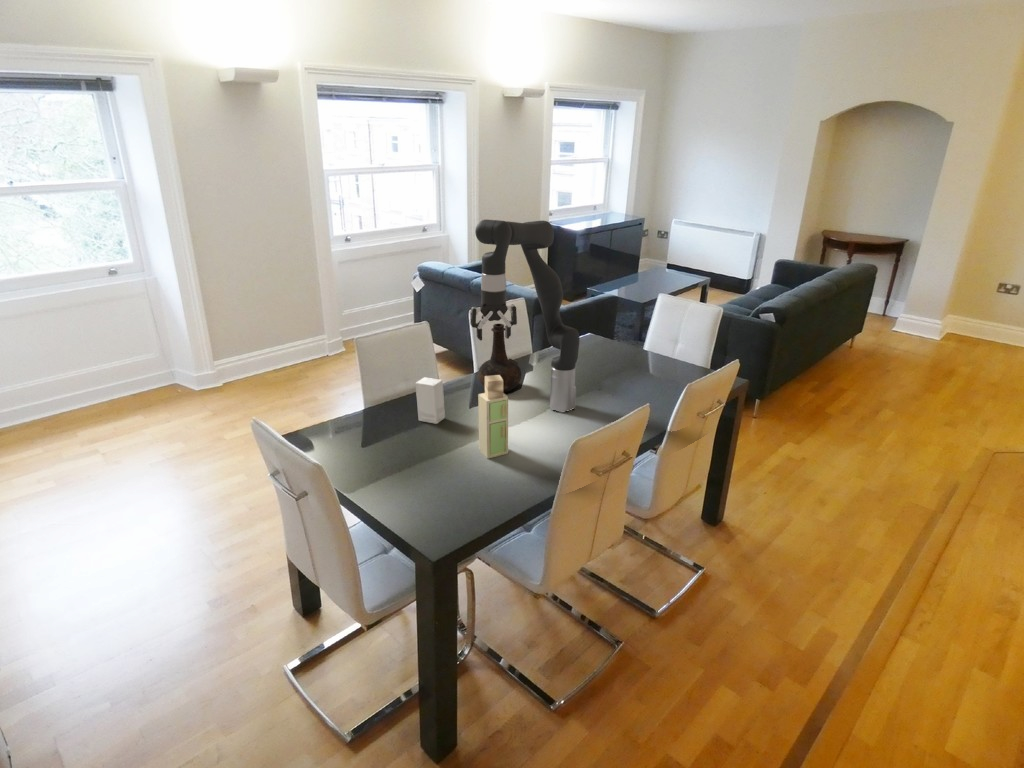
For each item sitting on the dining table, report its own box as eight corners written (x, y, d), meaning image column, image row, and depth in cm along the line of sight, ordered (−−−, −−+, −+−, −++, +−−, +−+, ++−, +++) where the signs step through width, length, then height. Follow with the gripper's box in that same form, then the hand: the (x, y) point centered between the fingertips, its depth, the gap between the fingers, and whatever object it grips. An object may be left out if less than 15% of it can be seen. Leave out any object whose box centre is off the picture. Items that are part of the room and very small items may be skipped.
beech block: (499, 391, 204) (499, 374, 202) (503, 397, 199) (503, 380, 197) (484, 393, 203) (484, 376, 200) (487, 399, 198) (487, 381, 196)
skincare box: (445, 418, 234) (444, 379, 228) (436, 425, 228) (434, 385, 223) (426, 414, 237) (424, 376, 231) (416, 420, 232) (414, 382, 226)
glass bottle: (529, 391, 260) (530, 326, 249) (493, 400, 250) (493, 333, 240) (505, 377, 273) (506, 316, 263) (470, 386, 264) (469, 322, 253)
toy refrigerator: (487, 460, 204) (487, 401, 196) (478, 450, 210) (477, 393, 202) (509, 455, 208) (509, 397, 200) (499, 445, 214) (499, 389, 206)
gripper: (513, 284, 193) (512, 334, 199) (468, 286, 190) (469, 336, 196) (519, 289, 186) (518, 341, 192) (472, 291, 183) (473, 344, 189)
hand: (493, 338), depth 194 cm, fingers open, 8 cm apart
